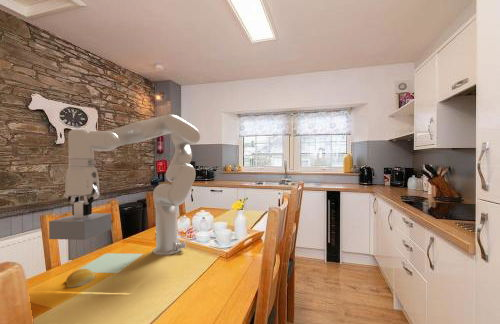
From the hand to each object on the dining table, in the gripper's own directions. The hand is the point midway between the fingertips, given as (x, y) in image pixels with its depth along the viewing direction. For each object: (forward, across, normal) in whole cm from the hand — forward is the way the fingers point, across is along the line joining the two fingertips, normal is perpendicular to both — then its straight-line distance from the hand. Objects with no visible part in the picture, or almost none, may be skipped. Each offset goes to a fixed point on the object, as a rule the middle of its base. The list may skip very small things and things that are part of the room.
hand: (82, 214), depth 86 cm
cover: (+7, 0, 0) cm, 7 cm away
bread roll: (+24, 0, +1) cm, 24 cm away
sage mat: (+24, -1, -14) cm, 27 cm away
